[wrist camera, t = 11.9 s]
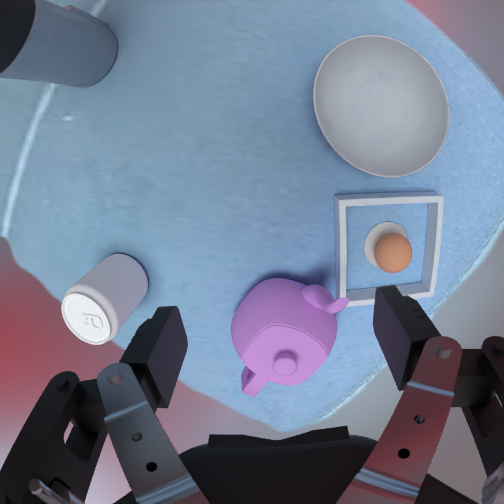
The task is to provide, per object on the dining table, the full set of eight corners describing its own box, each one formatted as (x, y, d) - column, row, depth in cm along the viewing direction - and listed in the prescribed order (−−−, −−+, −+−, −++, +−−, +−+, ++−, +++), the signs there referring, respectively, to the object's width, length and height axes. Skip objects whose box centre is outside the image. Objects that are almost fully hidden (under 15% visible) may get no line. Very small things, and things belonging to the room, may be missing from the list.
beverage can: (100, 248, 41) (53, 283, 30) (149, 256, 41) (109, 298, 30) (104, 295, 44) (64, 338, 33) (150, 306, 44) (117, 355, 33)
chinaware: (438, 107, 31) (469, 104, 23) (377, 193, 36) (400, 207, 28) (347, 31, 28) (364, 9, 21) (280, 119, 33) (281, 114, 26)
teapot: (366, 282, 40) (391, 328, 30) (283, 373, 47) (283, 426, 36) (288, 230, 38) (292, 265, 28) (211, 336, 45) (195, 387, 35)
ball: (369, 229, 37) (381, 241, 32) (404, 226, 36) (419, 238, 32) (368, 265, 39) (379, 281, 34) (402, 261, 38) (416, 277, 33)
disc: (363, 223, 37) (364, 223, 37) (408, 220, 36) (409, 220, 36) (363, 269, 39) (363, 270, 39) (405, 265, 39) (406, 265, 38)
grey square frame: (333, 195, 36) (338, 200, 33) (432, 191, 35) (443, 195, 32) (335, 296, 41) (339, 307, 38) (425, 286, 39) (433, 296, 37)
